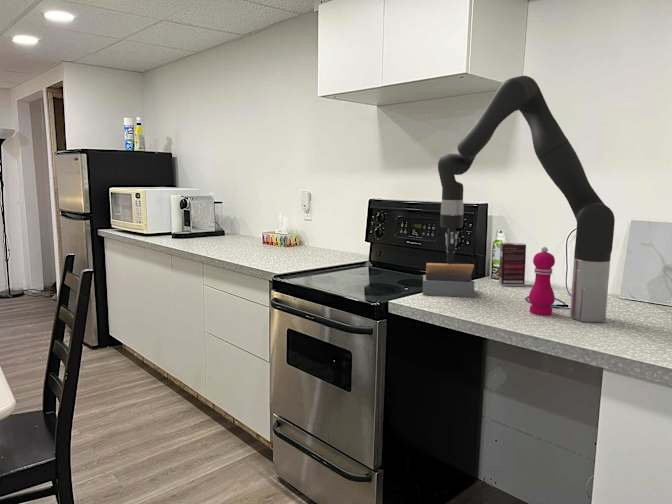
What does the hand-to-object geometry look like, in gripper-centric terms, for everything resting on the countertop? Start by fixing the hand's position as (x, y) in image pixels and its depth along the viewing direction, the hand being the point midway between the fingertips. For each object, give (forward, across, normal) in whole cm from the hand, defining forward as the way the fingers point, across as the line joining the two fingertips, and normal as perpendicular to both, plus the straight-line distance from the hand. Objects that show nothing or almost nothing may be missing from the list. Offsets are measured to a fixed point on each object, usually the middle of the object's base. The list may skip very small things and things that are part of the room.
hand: (450, 263), depth 174 cm
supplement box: (+11, -20, +24) cm, 33 cm away
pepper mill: (+11, +20, +26) cm, 35 cm away
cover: (+3, -4, 0) cm, 5 cm away
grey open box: (+11, -3, 0) cm, 11 cm away
